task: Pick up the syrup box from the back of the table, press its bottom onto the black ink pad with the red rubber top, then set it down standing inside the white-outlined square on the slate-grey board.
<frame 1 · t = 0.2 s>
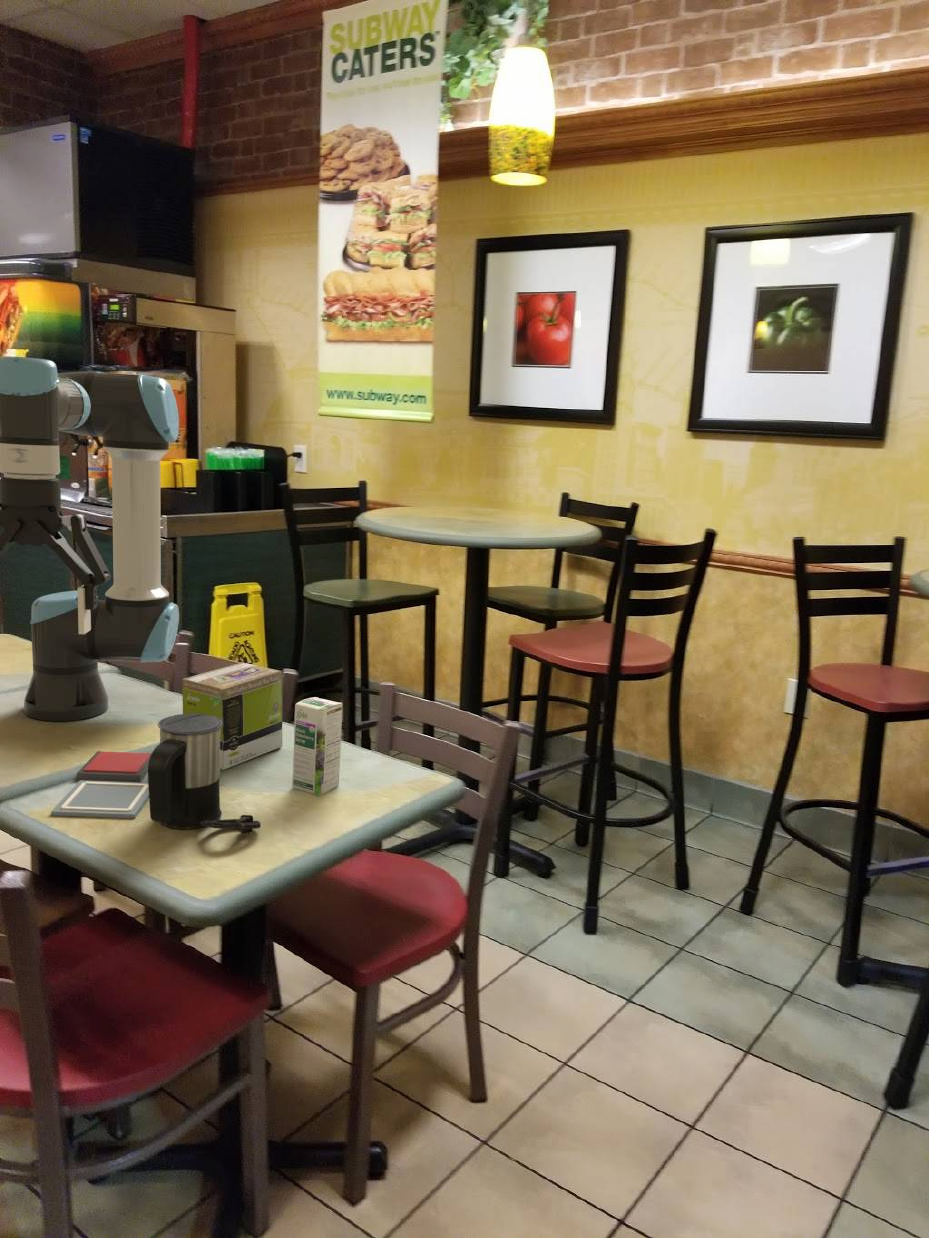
hand: (35, 629, 129), 28 cm above the table, tool pointing down, fingers open, 13 cm apart
milk frother: (209, 825, 136), on the table
ink pad: (118, 769, 154), on the table
marked board: (106, 800, 142), on the table
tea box: (233, 754, 165), on the table
syrup box: (315, 787, 152), on the table
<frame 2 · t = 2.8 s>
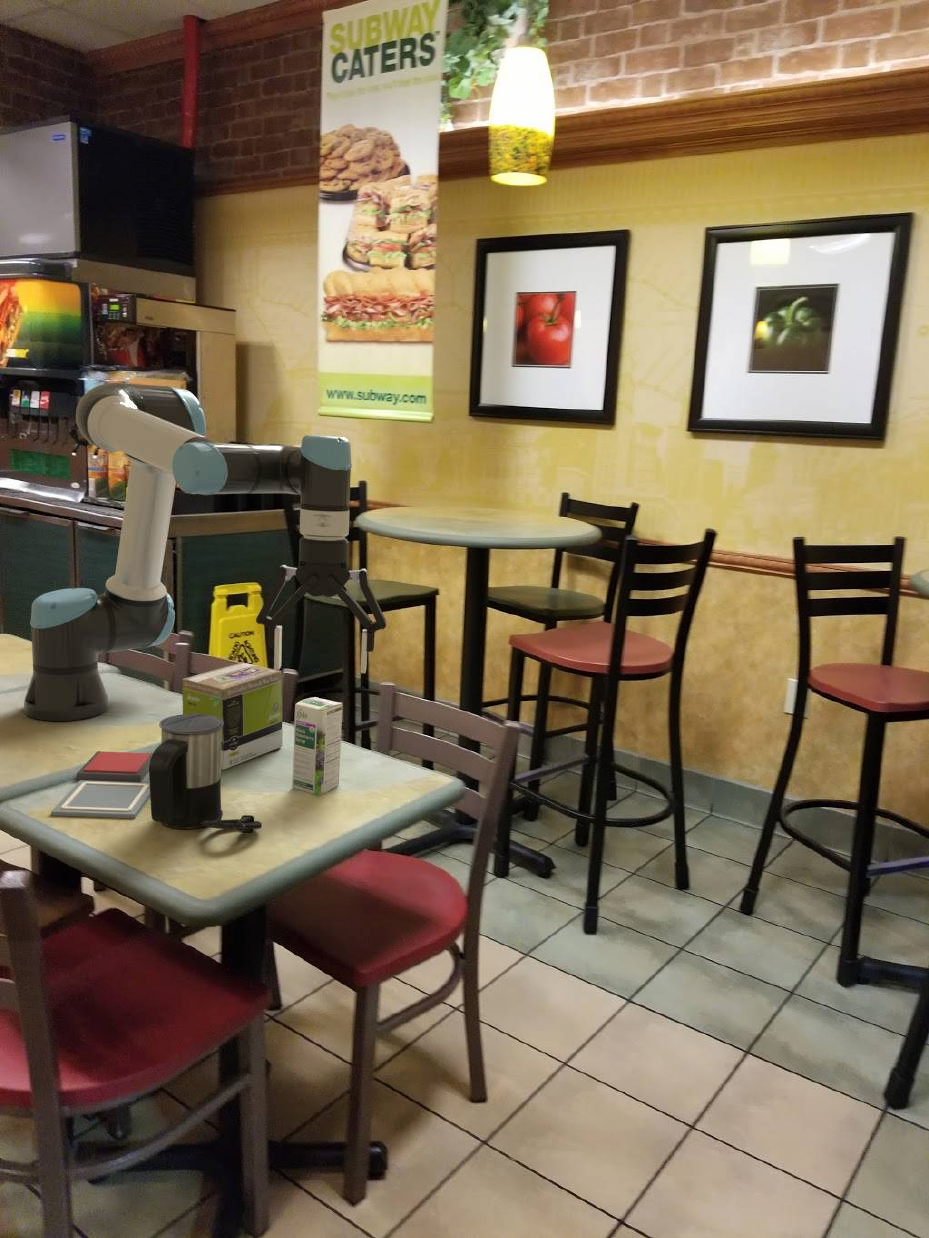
hand: (320, 669, 148), 20 cm above the table, tool pointing down, fingers open, 13 cm apart
nothing on the table moved.
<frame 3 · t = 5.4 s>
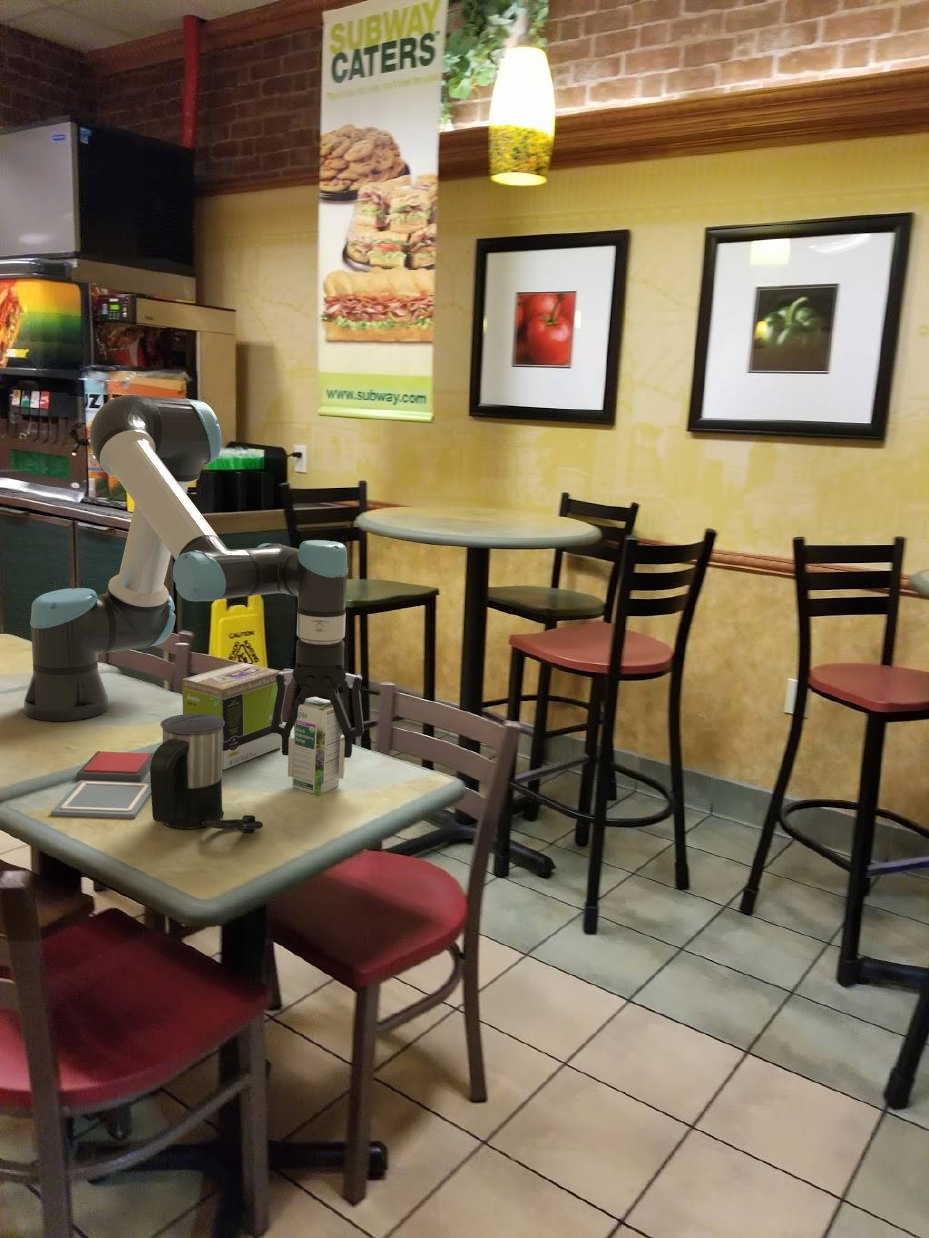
hand: (316, 774, 152), 2 cm above the table, tool pointing down, fingers closed on syrup box, 7 cm apart
syrup box: (315, 787, 152), on the table, touching gripper
everything else where it was.
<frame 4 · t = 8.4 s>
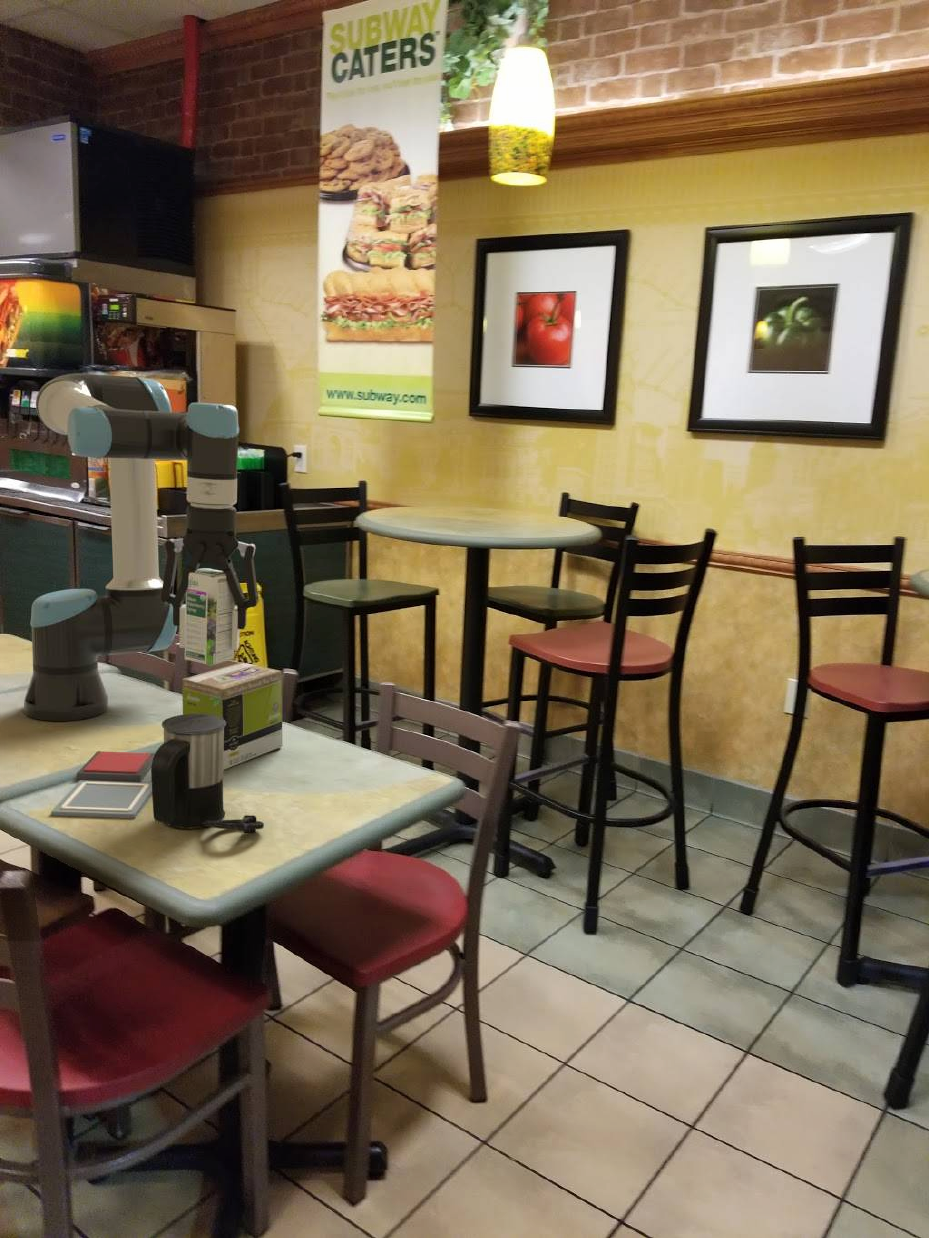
hand: (209, 646, 149), 22 cm above the table, tool pointing down, fingers closed on syrup box, 7 cm apart
syrup box: (209, 660, 150), point 20 cm above the table, touching gripper
everything else where it was.
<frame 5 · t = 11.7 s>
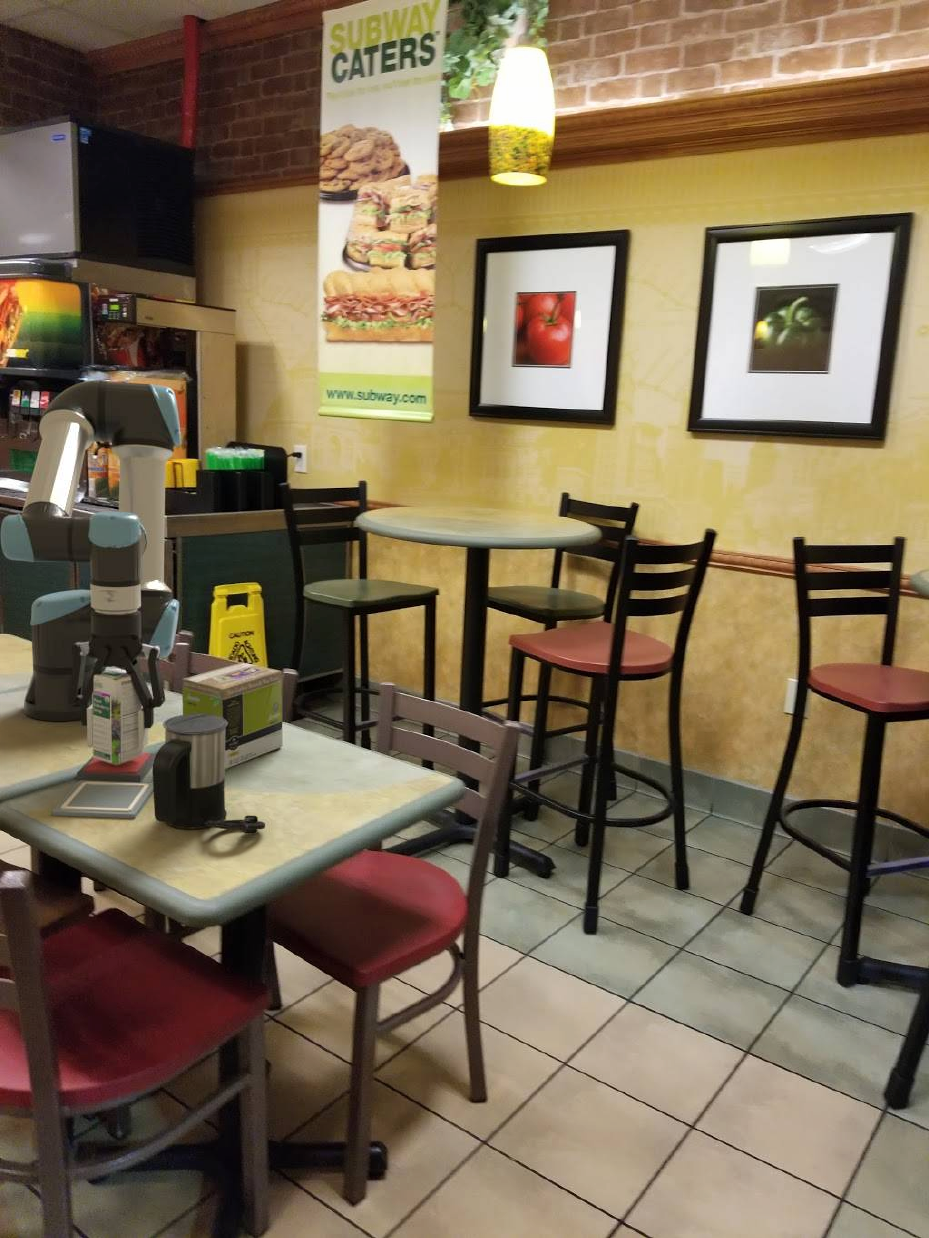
hand: (118, 745, 153), 4 cm above the table, tool pointing down, fingers closed on syrup box, 7 cm apart
syrup box: (117, 758, 153), point 2 cm above the table, touching gripper
everything else where it was.
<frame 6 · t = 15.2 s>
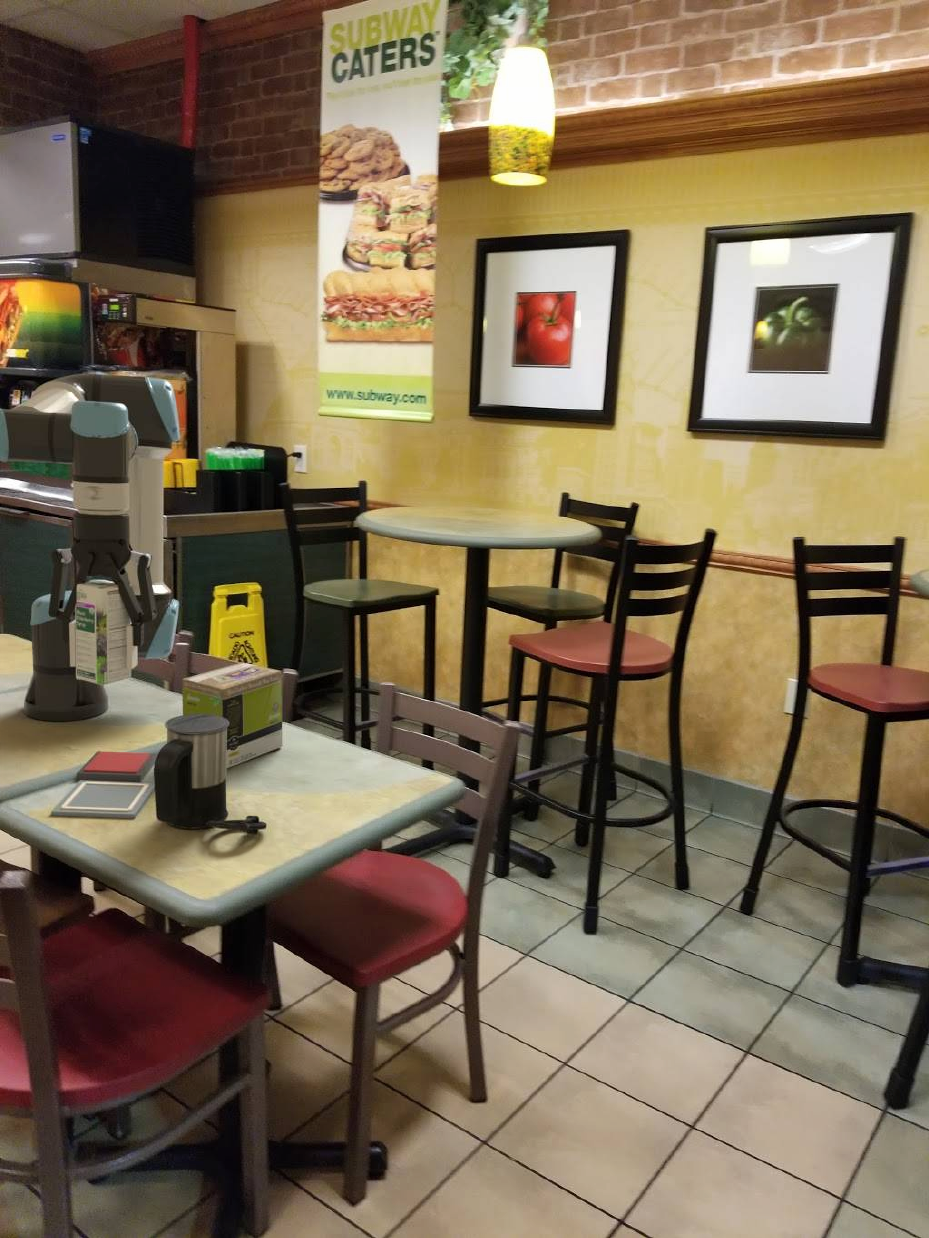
hand: (104, 665, 137), 21 cm above the table, tool pointing down, fingers closed on syrup box, 7 cm apart
syrup box: (104, 679, 138), point 19 cm above the table, touching gripper
everything else where it was.
when the fingers open (5 cm above the table, at t = 18.2 s): syrup box drops 2 cm, resting on marked board.
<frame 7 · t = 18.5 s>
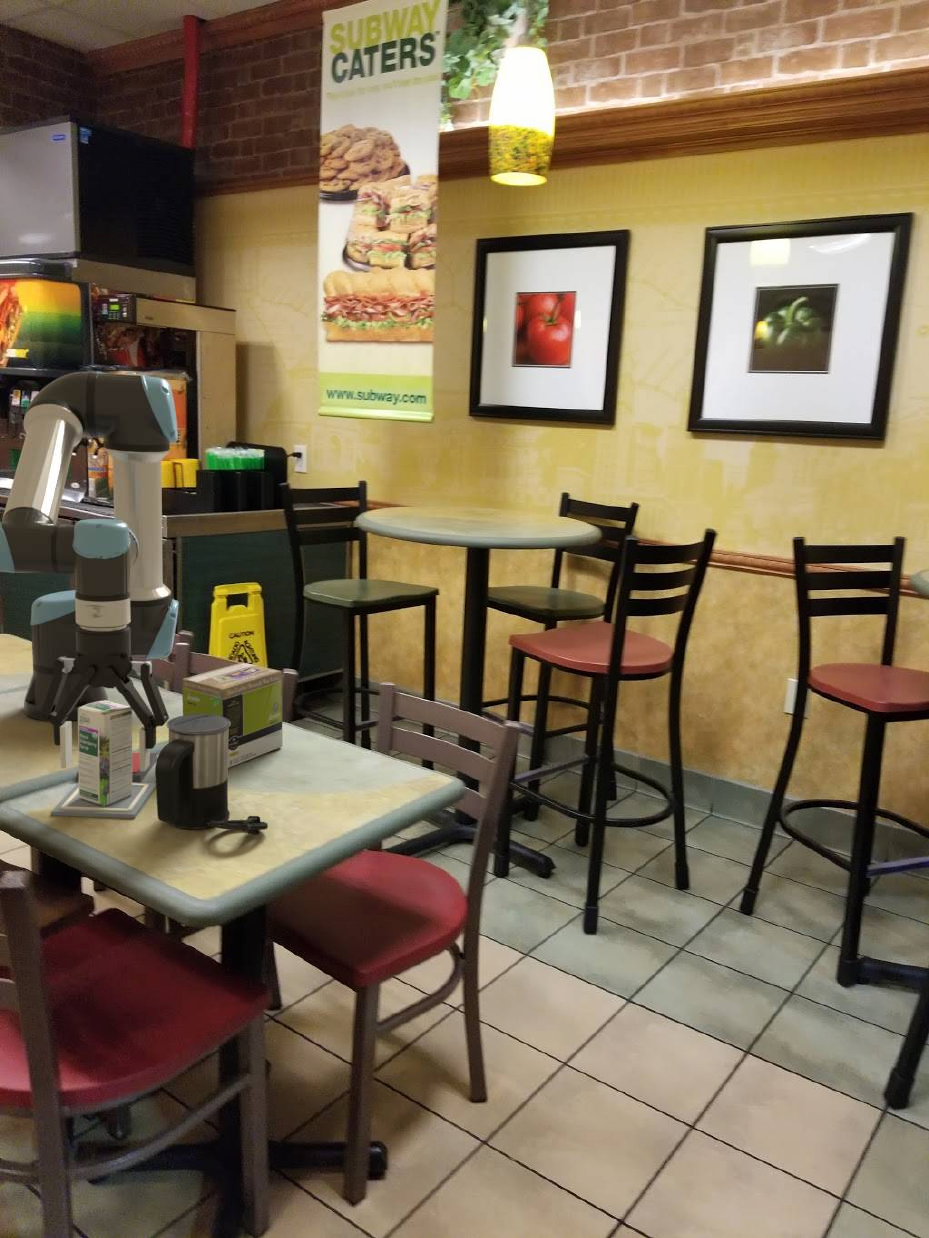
hand: (105, 766, 141), 5 cm above the table, tool pointing down, fingers open, 11 cm apart
syrup box: (106, 798, 142), resting on marked board
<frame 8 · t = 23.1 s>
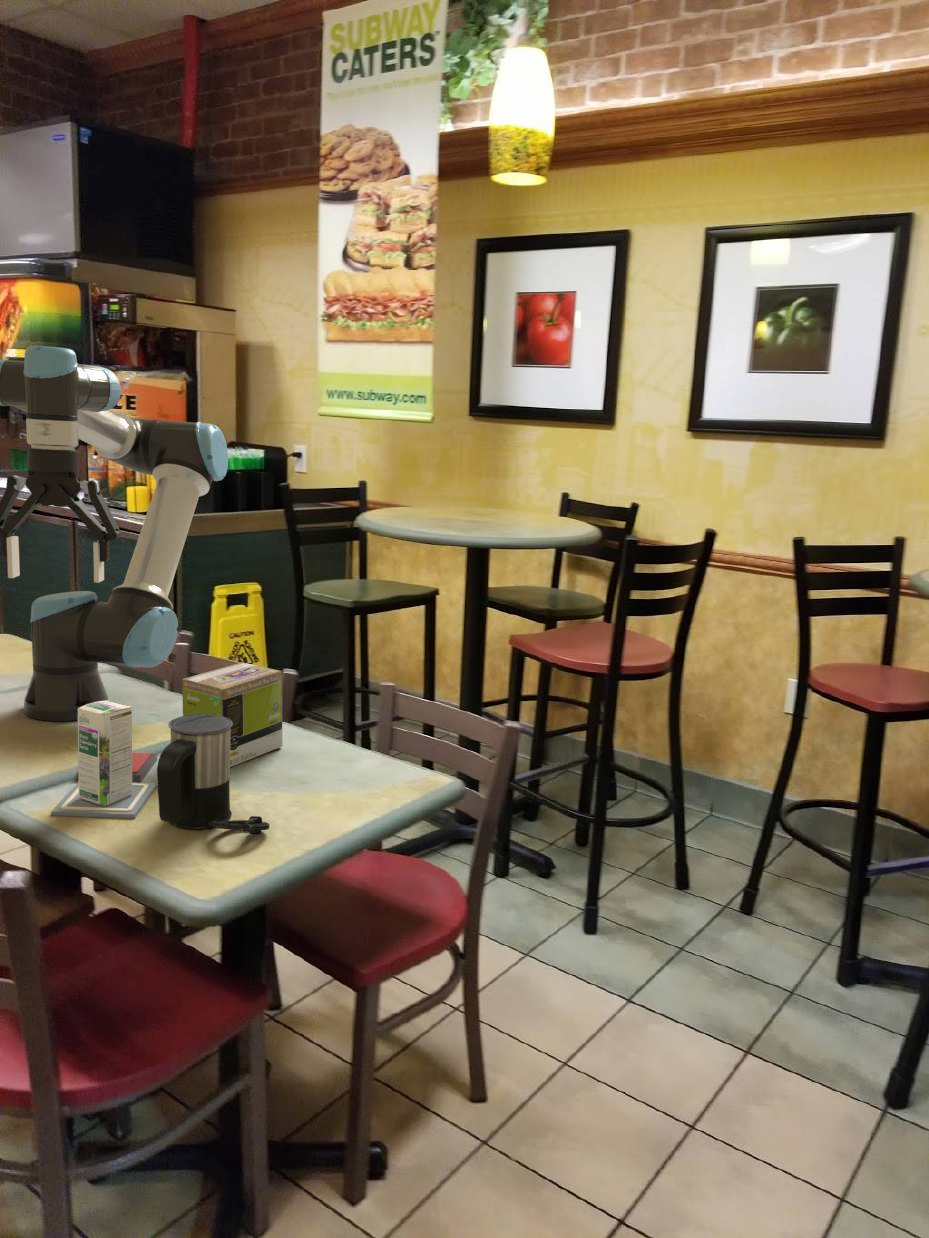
hand: (56, 579, 152), 31 cm above the table, tool pointing down, fingers open, 13 cm apart
at the end: syrup box 0.1 cm off-centre on the marked board, point 0.4 cm above the marked board's base; syrup box tilted 0°; the gripper is holding nothing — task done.
